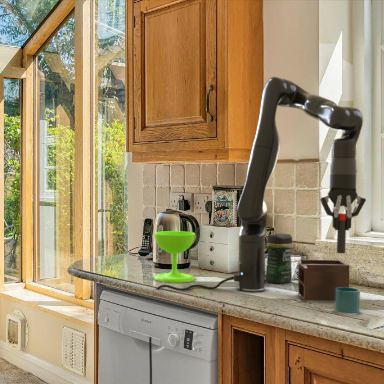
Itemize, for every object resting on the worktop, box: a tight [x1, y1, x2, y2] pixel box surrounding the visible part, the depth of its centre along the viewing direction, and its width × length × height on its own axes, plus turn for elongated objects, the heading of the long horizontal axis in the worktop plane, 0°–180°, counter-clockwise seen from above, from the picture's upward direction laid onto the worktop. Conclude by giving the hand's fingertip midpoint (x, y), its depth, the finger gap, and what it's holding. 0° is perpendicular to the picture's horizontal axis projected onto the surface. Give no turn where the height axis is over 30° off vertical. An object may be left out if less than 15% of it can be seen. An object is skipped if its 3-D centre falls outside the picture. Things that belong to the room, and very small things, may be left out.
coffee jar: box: [265, 232, 293, 284], centre depth 226 cm, size 10×8×19 cm
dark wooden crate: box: [297, 259, 350, 302], centre depth 196 cm, size 14×11×12 cm
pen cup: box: [334, 286, 361, 315], centre depth 177 cm, size 7×7×7 cm
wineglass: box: [153, 230, 196, 284], centre depth 232 cm, size 16×16×18 cm
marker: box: [336, 212, 347, 254], centre depth 180 cm, size 2×2×12 cm
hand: (341, 229), depth 180 cm, fingers closed on marker, 2 cm apart
